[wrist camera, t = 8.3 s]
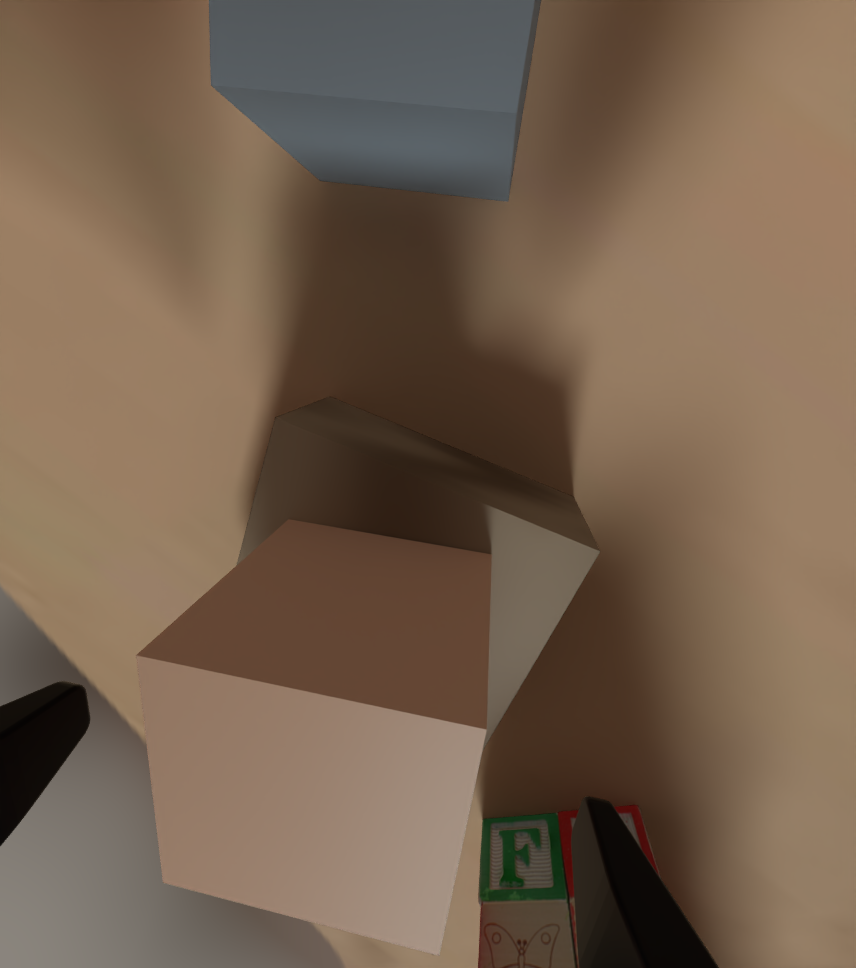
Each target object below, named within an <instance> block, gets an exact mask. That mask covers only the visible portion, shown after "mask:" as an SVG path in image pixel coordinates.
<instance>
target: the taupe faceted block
mask: <svg viewBox="0 0 856 968" xmlns="http://www.w3.org/2000/svg"><path fill="white" fill-rule="evenodd" d="M288 519H290V520H296V521H302V522H308V523H313V524H319V525H325V526H331V527H337V528H342V529H348V530H354V531H360V532H365V533H371V534H377V535H383V536H388V537H394V538H400V539H406V540H412V541H417V542H423V543H429V544H435V545H440V546H446V547H452V548H458V549H464V550H469V551H475V552H481V553H487V554H492V565H491V600H490V635H489V669H488V704H487V731H486V736H485V740H484V745H483V749H484V747H485V746H486V744H487V742H488V741H489V739H490V737H491V736H492V734H493V732H494V730H495V729H496V727H497V725H498V724H499V722H500V720H501V719H502V717H503V715H504V714H505V712H506V710H507V708H508V707H509V705H510V703H511V702H512V700H513V698H514V697H515V695H516V693H517V692H518V690H519V688H520V686H521V685H522V683H523V681H524V680H525V678H526V676H527V675H528V673H529V671H530V669H531V668H532V666H533V664H534V663H535V661H536V659H537V658H538V656H539V654H540V653H541V651H542V649H543V647H544V646H545V644H546V642H547V641H548V639H549V637H550V636H551V634H552V632H553V631H554V629H555V627H556V625H557V624H558V622H559V620H560V619H561V617H562V615H563V614H564V612H565V610H566V609H567V607H568V605H569V603H570V602H571V600H572V598H573V597H574V595H575V593H576V592H577V590H578V588H579V587H580V585H581V583H582V581H583V580H584V578H585V576H586V575H587V573H588V571H589V570H590V568H591V566H592V565H593V563H594V561H595V559H596V558H597V556H598V554H599V553H600V550H599V548H598V546H597V544H596V542H595V540H594V538H593V536H592V534H591V531H590V529H589V527H588V525H587V523H586V521H585V519H584V517H583V515H582V513H581V511H580V509H579V507H578V505H577V503H576V501H575V499H574V497H573V496H570V495H568V494H565V493H563V492H561V491H558V490H556V489H553V488H551V487H548V486H546V485H544V484H541V483H539V482H536V481H534V480H531V479H529V478H527V477H524V476H522V475H519V474H517V473H514V472H512V471H510V470H507V469H505V468H502V467H500V466H497V465H495V464H493V463H490V462H488V461H485V460H483V459H480V458H478V457H476V456H473V455H471V454H468V453H466V452H463V451H461V450H459V449H456V448H454V447H451V446H449V445H446V444H444V443H442V442H439V441H437V440H434V439H432V438H429V437H427V436H425V435H422V434H420V433H417V432H415V431H412V430H410V429H408V428H405V427H403V426H400V425H398V424H395V423H393V422H391V421H388V420H386V419H383V418H381V417H378V416H376V415H374V414H371V413H369V412H366V411H364V410H361V409H359V408H357V407H354V406H352V405H349V404H347V403H344V402H342V401H340V400H337V399H335V398H332V397H328V398H325V399H323V400H320V401H317V402H315V403H312V404H309V405H307V406H304V407H302V408H299V409H296V410H294V411H291V412H288V413H286V414H283V415H281V416H278V417H275V421H274V425H273V428H272V432H271V436H270V440H269V444H268V448H267V451H266V455H265V459H264V463H263V467H262V470H261V474H260V478H259V482H258V486H257V489H256V493H255V497H254V501H253V505H252V508H251V512H250V516H249V520H248V524H247V527H246V531H245V535H244V539H243V543H242V547H241V550H240V554H239V558H238V562H237V565H238V564H239V563H240V562H241V561H242V560H243V559H245V558H246V557H247V556H248V555H249V554H250V553H251V552H252V551H254V550H255V549H256V548H257V547H258V546H259V545H260V544H261V543H263V542H264V541H265V540H266V539H267V538H268V537H269V536H270V535H271V534H273V533H274V532H275V531H276V530H277V529H278V528H279V527H280V526H282V525H283V524H284V523H285V522H286V521H287V520H288ZM482 751H483V750H482Z"/></svg>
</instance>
